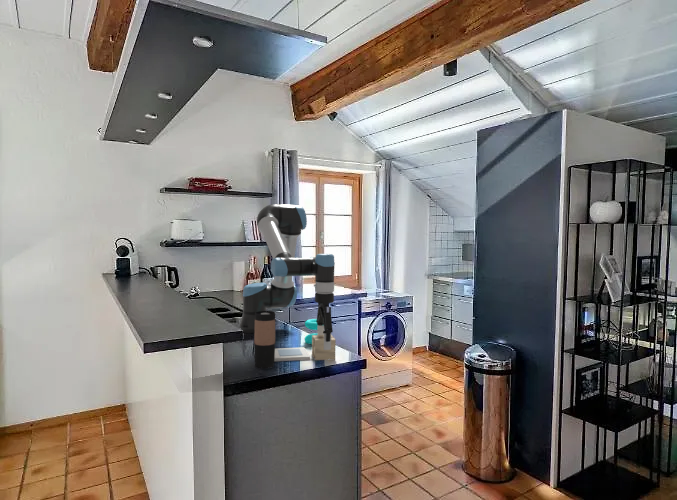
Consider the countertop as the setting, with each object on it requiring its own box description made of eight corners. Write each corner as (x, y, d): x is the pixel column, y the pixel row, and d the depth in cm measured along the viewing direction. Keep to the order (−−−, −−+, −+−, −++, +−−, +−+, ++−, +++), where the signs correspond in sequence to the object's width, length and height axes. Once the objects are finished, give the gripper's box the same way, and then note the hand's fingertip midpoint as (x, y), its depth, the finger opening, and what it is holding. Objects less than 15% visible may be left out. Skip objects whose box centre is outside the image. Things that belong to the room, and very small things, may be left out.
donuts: (301, 319, 202) (321, 317, 206) (301, 341, 202) (320, 339, 207) (310, 323, 193) (330, 321, 197) (309, 346, 193) (330, 344, 198)
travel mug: (249, 366, 163) (250, 312, 162) (264, 361, 170) (264, 309, 169) (264, 370, 159) (265, 315, 158) (279, 365, 165) (279, 312, 164)
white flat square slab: (271, 351, 184) (271, 348, 184) (304, 350, 187) (304, 346, 187) (273, 361, 170) (273, 357, 170) (309, 359, 173) (309, 356, 173)
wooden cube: (311, 354, 180) (312, 335, 180) (330, 353, 182) (331, 334, 182) (315, 360, 173) (315, 340, 172) (335, 359, 174) (335, 339, 174)
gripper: (310, 288, 188) (309, 338, 188) (321, 296, 163) (320, 353, 164) (327, 288, 189) (326, 337, 190) (341, 296, 165) (340, 352, 166)
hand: (323, 345), depth 177 cm, fingers open, 13 cm apart
